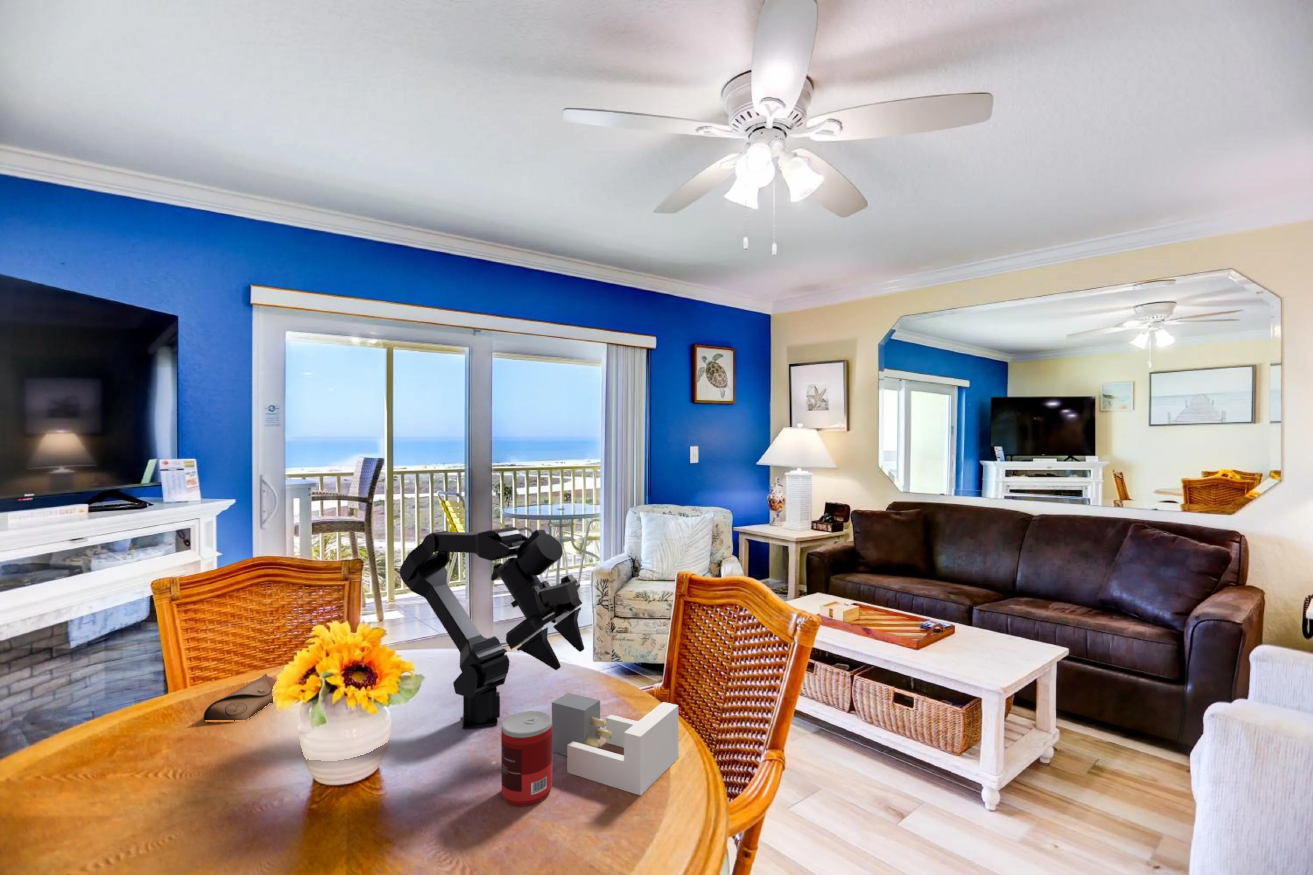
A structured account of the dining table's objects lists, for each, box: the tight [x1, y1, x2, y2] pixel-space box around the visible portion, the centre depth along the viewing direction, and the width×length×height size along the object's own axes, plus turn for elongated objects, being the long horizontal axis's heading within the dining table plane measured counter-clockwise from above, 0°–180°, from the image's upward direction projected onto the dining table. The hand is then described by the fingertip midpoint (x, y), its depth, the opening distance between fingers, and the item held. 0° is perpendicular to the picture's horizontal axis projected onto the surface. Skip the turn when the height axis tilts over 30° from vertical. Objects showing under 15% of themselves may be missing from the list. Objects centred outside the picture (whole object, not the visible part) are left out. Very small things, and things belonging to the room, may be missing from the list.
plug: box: [551, 692, 612, 756], centre depth 107 cm, size 10×5×8 cm, turn 61°
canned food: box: [500, 710, 553, 807], centre depth 95 cm, size 8×8×11 cm
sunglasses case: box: [203, 673, 278, 721], centre depth 128 cm, size 18×7×7 cm
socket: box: [566, 701, 680, 797], centre depth 103 cm, size 14×13×9 cm
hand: (570, 659), depth 111 cm, fingers open, 9 cm apart
